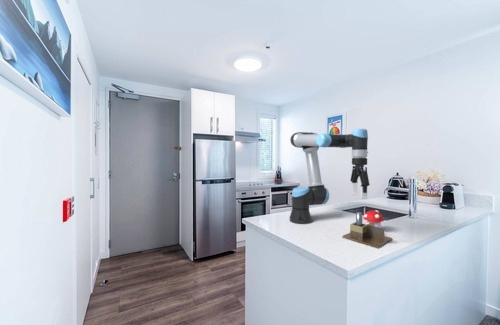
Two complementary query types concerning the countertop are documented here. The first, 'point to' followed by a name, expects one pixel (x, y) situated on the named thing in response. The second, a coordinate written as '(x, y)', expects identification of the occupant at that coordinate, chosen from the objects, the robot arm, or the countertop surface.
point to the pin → (359, 219)
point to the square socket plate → (367, 235)
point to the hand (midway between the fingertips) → (358, 196)
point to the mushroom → (374, 218)
